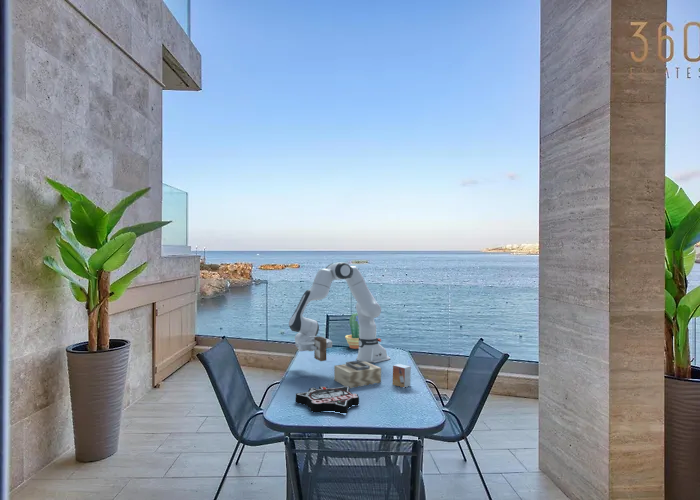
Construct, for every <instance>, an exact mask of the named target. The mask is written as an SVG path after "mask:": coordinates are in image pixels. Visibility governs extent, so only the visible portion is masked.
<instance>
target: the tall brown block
mask: <svg viewBox="0 0 700 500" xmlns="http://www.w3.org/2000/svg"><path fill="white" fill-rule="evenodd" d="M322 337H323V336H318V337H314V344H315V345H314V346H317V347H318V350H314V351H313V352H314V354H313V356H314V357H313V358H314V359H315V360H317V361H319V362H325V361H327V348H326V339H327V338H326V339H325V337H324V338H322Z"/></svg>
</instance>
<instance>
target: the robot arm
mask: <svg viewBox="0 0 700 500" xmlns="http://www.w3.org/2000/svg"><path fill="white" fill-rule="evenodd" d="M335 280H336V281H339V280H345V282H346V284H347V286H348V288H349V291H350V292H351V294H352V296H353V298H354V299H355V300H356V303H355V310H356V313H357V314H358V320H359V349H358V351H357V356H356V361H360V362H364V361H366V362H368V363H379V362H384V361H388V360H391V357H390V356H389V355H388V353H387V349H386V348H385V347H383V346H382V345H381V344H380V343H381V342H382V339H381V338H377V325H376V322H375V319H376V318H378V317H380V315H381V313H382V308H381V305H380V304H379V303H378V302H377V300H376V298H375V297H374V295H373V294H372V292H371V291H370V289H369V287H368V285H367V283H366V281H365V279H364V276H363V274H362V273H361V271H360V270H359V268H358V267H357V266H355V265H350V264H349V263H347V262H346V261H345V262H344V261H343V262H342V261H341V262H340V261H338V262H334V263H330V264H328V265H327V266H326V267H325V268H320V269H319V270H317V273H316V274H315V277H314V280H313V282H312V285H311V287H310V288H309V289H308V290H306V291H304V293H303V295H302V297H301V298H300V300H299V302H298V304H297V307H296V308H295V309H294V312H293V314H292V316H291V317H290V319H289V321H288V327H289V329H290V330H291V332H295V333H296V334H295V336H294V343H295V347H296V348H297V349H298V351H300V352H306V351H307V352H314V350H318V347H317V346H314V345H315V344H314V337H319V336H318V334H319V331H320V325H319V322H318V321H317V320H315V319H313V318H308V317H305V316H303V315H304V312H305V310H306V309H307V306H308V304H309V303H311V302H312V301H322V300H325V299H326V298H327V297H328V296H329V295H328V294H329V292H330V289H331V285H332V282H333V281H335ZM321 337H322V338H325V337H324V336H321ZM325 339H326V349H330V348H332V347H333V341H332V340H331V339H329V338H325ZM379 342H380V343H379Z"/></svg>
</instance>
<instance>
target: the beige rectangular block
mask: <svg viewBox="0 0 700 500" xmlns="http://www.w3.org/2000/svg"><path fill="white" fill-rule="evenodd" d="M333 369H334V374H333V375H334V377H333V378H334V379H333V380H334V381H335V382H337V383H338V384H340V385H342V386H343V387H344V386H349V387H350V389H354V388H359V387H358V386H360V387H364V385H365V386H370V385H369V384H371V385H375V384H374V383H377V384H381V383H382V367H380V366H379V365H378V366H377V365H376V364H375V365H374V364H372V363H371V362H366V361H364V362H363V361H359V360H353V361H347V362H345V364H344V363H342V364H337V365H334V367H333ZM380 382H381V383H380ZM353 387H354V388H353Z"/></svg>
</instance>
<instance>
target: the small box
mask: <svg viewBox="0 0 700 500" xmlns="http://www.w3.org/2000/svg"><path fill="white" fill-rule="evenodd" d="M411 369H412V367H411V366H410V365H405V364H402V363H397V364H394V365H392V386H397V387H399V386H400V387H399V388H402V387H404V388H403V389H406V388H408V386H409V387H410V386H411V382H412V381H411V377H412V374H411V371H412V370H411ZM405 387H406V388H405Z"/></svg>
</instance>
